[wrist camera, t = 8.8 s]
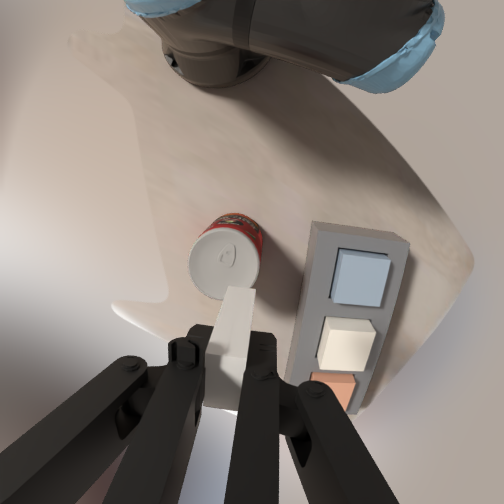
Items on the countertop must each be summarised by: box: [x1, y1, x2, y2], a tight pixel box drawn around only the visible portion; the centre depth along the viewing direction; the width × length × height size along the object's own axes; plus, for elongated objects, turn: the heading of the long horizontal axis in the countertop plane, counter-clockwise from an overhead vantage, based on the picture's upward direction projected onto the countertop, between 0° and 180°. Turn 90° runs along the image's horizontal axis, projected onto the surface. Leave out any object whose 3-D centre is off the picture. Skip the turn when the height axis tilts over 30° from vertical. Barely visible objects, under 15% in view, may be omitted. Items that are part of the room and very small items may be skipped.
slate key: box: [330, 247, 391, 307], centre depth 38 cm, size 6×6×5 cm
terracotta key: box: [309, 372, 356, 411], centre depth 43 cm, size 6×6×5 cm
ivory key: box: [316, 316, 376, 371], centre depth 40 cm, size 6×6×5 cm
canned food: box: [188, 213, 263, 300], centre depth 39 cm, size 8×8×11 cm
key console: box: [284, 221, 410, 414], centre depth 43 cm, size 28×12×6 cm, turn 174°
